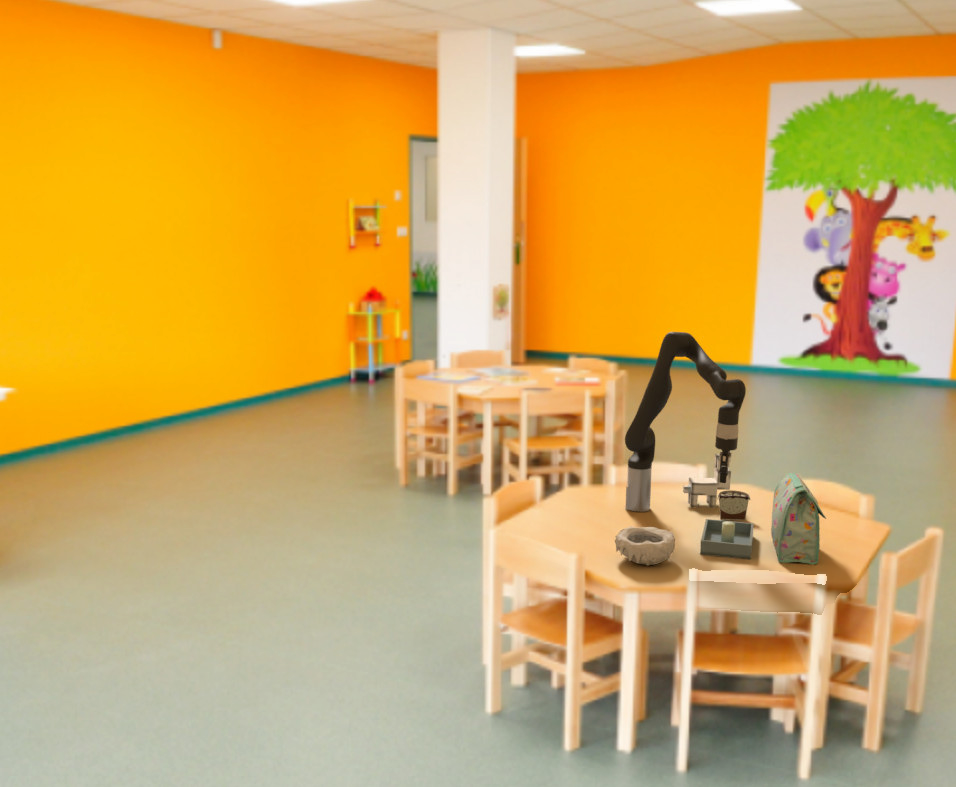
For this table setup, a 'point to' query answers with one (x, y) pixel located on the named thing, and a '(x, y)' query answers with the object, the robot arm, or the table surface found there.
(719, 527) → the bin
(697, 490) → the toy llama
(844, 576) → the table surface
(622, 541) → the bowl
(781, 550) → the lunch bag
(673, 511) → the table surface
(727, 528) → the sage cylinder
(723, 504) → the food container
